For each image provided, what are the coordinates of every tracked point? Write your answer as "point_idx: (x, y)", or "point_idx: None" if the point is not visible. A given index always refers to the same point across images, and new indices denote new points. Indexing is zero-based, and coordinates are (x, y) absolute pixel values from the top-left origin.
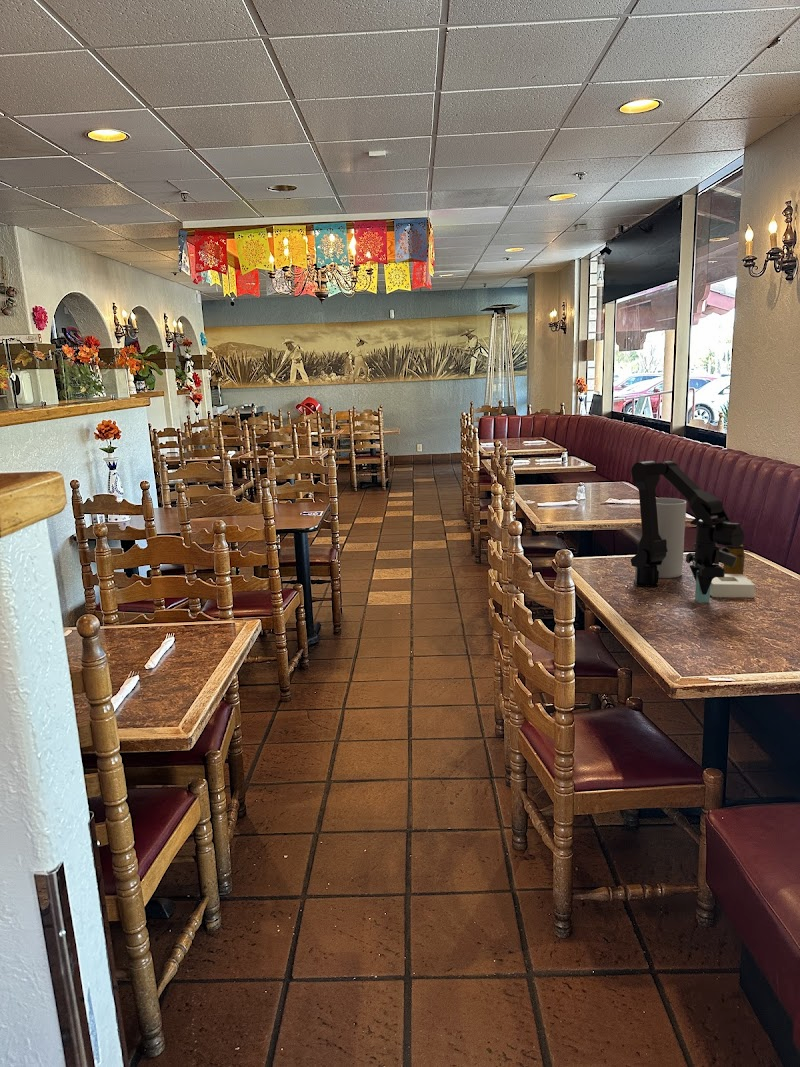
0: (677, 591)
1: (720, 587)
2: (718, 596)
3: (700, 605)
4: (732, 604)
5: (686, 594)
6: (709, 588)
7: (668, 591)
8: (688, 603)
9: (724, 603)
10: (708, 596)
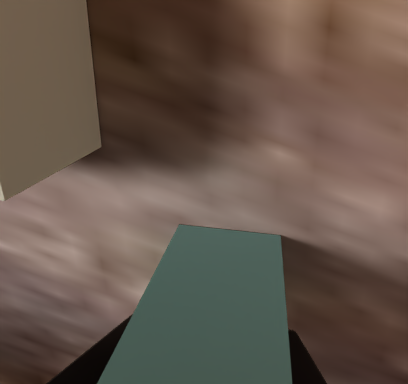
0: (6, 334)
1: (19, 78)
2: (91, 85)
3: (359, 329)
4: (378, 9)
5: (64, 310)
6: (290, 362)
7: (21, 377)
8: None
9: (324, 98)
10: (280, 282)
